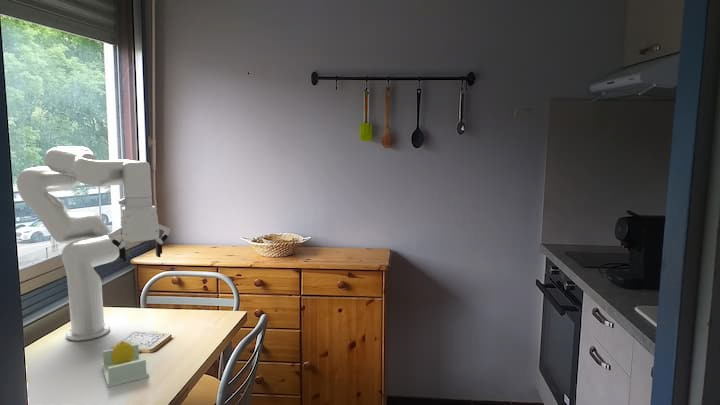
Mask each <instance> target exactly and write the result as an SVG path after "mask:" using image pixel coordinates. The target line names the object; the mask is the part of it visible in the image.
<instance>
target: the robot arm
mask: <svg viewBox="0 0 720 405" xmlns="http://www.w3.org/2000/svg"><path fill="white" fill-rule="evenodd" d="M43 162H44V165H45V166H35V167H30V168H29V167H28V168H26V169H24V170H22V171H21V172H19V173H18V175H17V178H16V188H17V192H18V194H19V196H20V198H21V199H22V201H23V202H24V204H26V206H28V207H29V208H30V210H32V211H33V213H34V214H36V216H37V217H38V219H39V220H40V222H41V223H42V225H43V226H44V227H45V228H46V230H47V232H48V233H49V234H50V236H51V237H52V238H53V240H54V241H55V242H56V243H58V244H63V245H64V244H66V245H65V246H64V247H63V249H62V251H61V260H62V263H63V267H64V270H65V274H66V281H67V290H68V305H69V316H70V317H69V320H70V329H69V330H67V331H66V333H65V336H66V337H65V338H66V339H68V340H70V341H77V342H80V341H88V340H89V341H90V340H94V339H96V338H97V339H98V338H100V337H102V336H105V335H106V334H108V333H109V332H110V330H111V329H110V328H111V327H110V325H109V324H108V323H105V317H104V303H103V300H104V299H103V287H102V279H101V277H100V275H99V274H98V272H97V271H96V270H95V269H94V268H95V267H98V266H101V265H105V264H108V263H113V262H114V261H116V260H118V258H119V259H120V260H122V262H123V263H124V262H126V261H127V256H126V254H127V253H126V248H125V246H126V244H127V243H136V242H143V241H144V242H146V241H152V240H155V242H156V243H155V256H156V257H157V258H161V255H162V254H163V243H164V242H165V241H166V240H167V238H168V236H169V235H170V233H171V229H170V228H169V227H167V226H165V225H162V224H159V219H158V218H159V217H158V213H157V208H156V206H155V205H153V199H152V197H153V195H152V194H153V193H152V177H151V173H152V172H151V165H150V163H149V162H148V161H145V160H130V159H108V160H107V159H106V160H98V158H97V157H96V156H95V154H94V152H93V151H92V150H91V149H89V148H88V147H85V146H57V147H53V148H50V149H48V150H47V151H46V153H45V154H44V157H43ZM79 184H84V185H87V186H94V187H107V186H108V187H109V186H121V185H123V188H122V189H123V198H122V199H119V200H118V205H123V207H122V208H121V215H120V227H118V228H116V229H114V230H112V231H111V230H110V228H109V227H108V226H107V224H106V223H105V221H104V220H103V219H102V217H100V215H98V214H96V213H95V212H92V211H83V212H72V211H71V210H69V208H68V207H67V205H66V204H65V202H63V201H62V200H61V199H60V198H58V197H56V196H54V195H52V194H51V193H52V192H60V191H61V192H62V191H69V190H72V189H75V188H76V187H78V185H79ZM50 192H51V193H50ZM160 230H161V231H164V232H163V234H162V235H161V236H160ZM118 234H120V237H121V239H120V241H118V240H117V238H116V236H117V235H118Z"/></svg>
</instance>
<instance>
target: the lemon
mask: <svg viewBox="0 0 720 405" xmlns="http://www.w3.org/2000/svg"><path fill="white" fill-rule="evenodd" d="M113 348H114V349H113ZM113 348H112V349H113V352H112V361H113V363H114V365H119V364H123V363H127V362H132V361H133V359H134V350H133V347H132V344H131V343H130V342H127V341H124V340H123V341H120V342H118V343H117V344H116V345H115V346H114V347H113Z"/></svg>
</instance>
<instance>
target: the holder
mask: <svg viewBox="0 0 720 405" xmlns="http://www.w3.org/2000/svg"><path fill="white" fill-rule="evenodd" d="M131 345H132V347H133V350H134V359H133V361H132V362H127V363H123V364H119V365H114V363H113V361H112V352H113V349H114V347H113V348H110V349H105V350H102V357H103V358H102V359H103V364H101V369H102V372H103V377H104V380H105V383H106V387H107V388H111V387H115V386H118V385H124V384H127V383H130V382H134V381H138V380H143V379H146V378H149V376H150V375H149V372H148V369H147V359H146V357H145V358H142V357H141V356H140V351H139V343H133V344H131Z"/></svg>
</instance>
